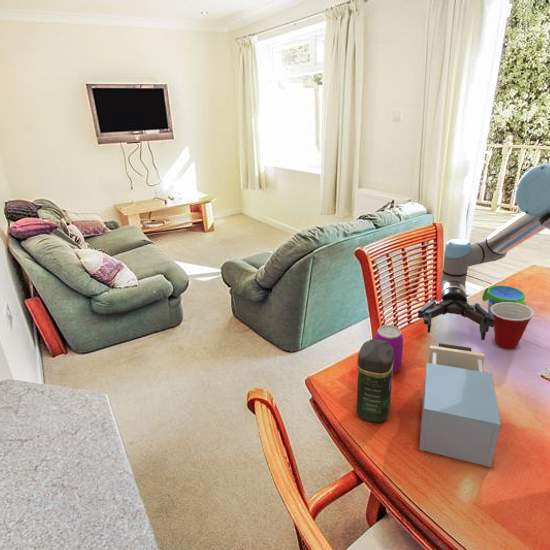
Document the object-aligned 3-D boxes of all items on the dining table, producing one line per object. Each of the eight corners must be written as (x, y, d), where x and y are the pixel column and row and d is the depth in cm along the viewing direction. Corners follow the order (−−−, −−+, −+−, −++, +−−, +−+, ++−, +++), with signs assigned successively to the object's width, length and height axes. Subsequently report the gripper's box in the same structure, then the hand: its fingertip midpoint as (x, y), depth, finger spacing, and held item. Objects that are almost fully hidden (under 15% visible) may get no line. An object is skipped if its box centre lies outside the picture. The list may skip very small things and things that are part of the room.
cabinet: (422, 400, 95) (426, 362, 90) (483, 412, 90) (491, 373, 85) (419, 449, 82) (424, 408, 77) (491, 467, 77) (500, 424, 72)
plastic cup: (484, 331, 120) (490, 298, 115) (523, 337, 116) (531, 303, 111) (484, 350, 112) (491, 315, 107) (527, 357, 107) (536, 321, 102)
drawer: (427, 362, 107) (430, 333, 103) (476, 370, 102) (482, 340, 98) (424, 413, 90) (428, 380, 86) (483, 426, 85) (490, 392, 81)
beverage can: (406, 364, 108) (409, 329, 103) (392, 378, 103) (395, 342, 98) (382, 354, 113) (383, 320, 108) (368, 367, 108) (369, 332, 103)
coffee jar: (386, 427, 88) (390, 363, 80) (353, 418, 91) (354, 356, 84) (393, 400, 96) (397, 339, 88) (362, 392, 99) (363, 333, 92)
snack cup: (533, 328, 120) (540, 300, 115) (503, 333, 118) (509, 305, 114) (498, 305, 134) (503, 280, 130) (471, 310, 132) (475, 284, 128)
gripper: (495, 312, 118) (505, 350, 100) (411, 303, 127) (407, 336, 109) (499, 290, 115) (510, 326, 97) (413, 283, 124) (408, 314, 106)
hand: (455, 332), depth 103 cm, fingers open, 13 cm apart
